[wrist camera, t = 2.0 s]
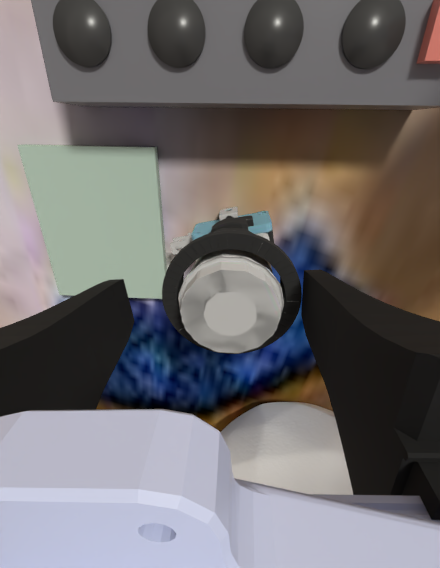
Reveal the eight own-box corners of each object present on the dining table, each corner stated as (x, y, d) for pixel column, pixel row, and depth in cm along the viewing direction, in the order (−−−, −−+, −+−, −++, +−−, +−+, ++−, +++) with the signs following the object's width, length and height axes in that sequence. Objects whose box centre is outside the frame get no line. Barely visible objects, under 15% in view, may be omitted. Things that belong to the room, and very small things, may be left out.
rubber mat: (156, 146, 17) (154, 147, 16) (168, 294, 22) (167, 299, 21) (24, 144, 17) (17, 145, 17) (63, 290, 22) (59, 294, 21)
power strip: (448, -19, 13) (515, -66, 10) (413, 110, 16) (458, 104, 12) (61, -16, 14) (9, -60, 11) (83, 106, 16) (45, 100, 13)
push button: (184, 274, 21) (146, 380, 12) (164, 200, 18) (97, 264, 10) (278, 260, 20) (311, 362, 11) (269, 180, 18) (301, 229, 9)
